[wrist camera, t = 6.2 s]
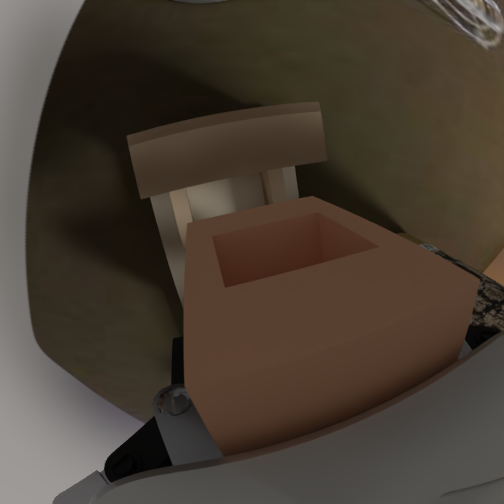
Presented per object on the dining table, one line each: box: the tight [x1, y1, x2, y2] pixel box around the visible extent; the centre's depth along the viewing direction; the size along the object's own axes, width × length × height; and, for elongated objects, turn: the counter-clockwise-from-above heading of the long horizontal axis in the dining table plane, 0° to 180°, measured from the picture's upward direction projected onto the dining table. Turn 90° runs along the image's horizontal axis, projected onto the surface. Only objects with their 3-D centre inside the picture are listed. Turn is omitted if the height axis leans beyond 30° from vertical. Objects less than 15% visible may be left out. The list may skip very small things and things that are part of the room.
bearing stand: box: [127, 102, 328, 310], centre depth 21 cm, size 28×11×10 cm, turn 9°
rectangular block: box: [184, 196, 480, 457], centre depth 9 cm, size 8×5×8 cm, turn 9°
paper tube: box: [397, 233, 504, 332], centre depth 17 cm, size 7×7×25 cm
